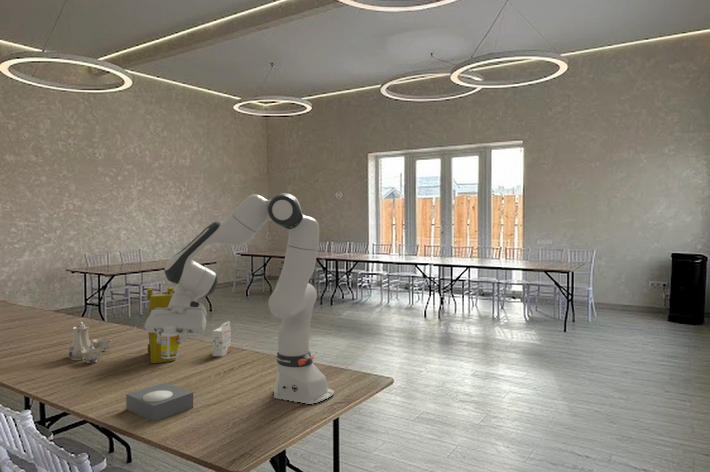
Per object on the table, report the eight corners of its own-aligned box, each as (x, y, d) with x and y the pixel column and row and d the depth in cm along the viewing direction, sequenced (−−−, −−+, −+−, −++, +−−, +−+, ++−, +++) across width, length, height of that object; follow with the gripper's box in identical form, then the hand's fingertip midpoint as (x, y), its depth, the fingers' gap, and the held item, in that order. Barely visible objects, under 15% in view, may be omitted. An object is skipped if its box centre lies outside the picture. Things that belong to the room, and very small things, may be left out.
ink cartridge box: (221, 351, 221) (221, 320, 221) (231, 351, 220) (230, 320, 220) (212, 356, 213) (212, 324, 213) (222, 357, 212) (222, 324, 212)
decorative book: (176, 361, 205) (176, 292, 204) (149, 364, 200) (148, 294, 199) (172, 349, 223) (172, 286, 222) (147, 352, 218) (146, 287, 217)
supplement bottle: (180, 354, 162) (180, 324, 161) (176, 359, 156) (176, 328, 156) (164, 354, 161) (164, 324, 161) (158, 359, 156) (158, 328, 155)
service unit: (193, 407, 156) (193, 391, 156) (153, 422, 144) (153, 405, 144) (164, 395, 165) (164, 381, 165) (125, 408, 154) (125, 392, 154)
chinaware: (104, 368, 200) (108, 329, 200) (59, 368, 194) (63, 328, 194) (112, 350, 226) (115, 316, 226) (72, 350, 220) (76, 315, 220)
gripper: (149, 302, 165) (135, 337, 156) (206, 303, 164) (195, 338, 155) (155, 312, 170) (142, 346, 161) (211, 313, 169) (201, 348, 159)
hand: (169, 342), depth 158 cm, fingers closed on supplement bottle, 6 cm apart
